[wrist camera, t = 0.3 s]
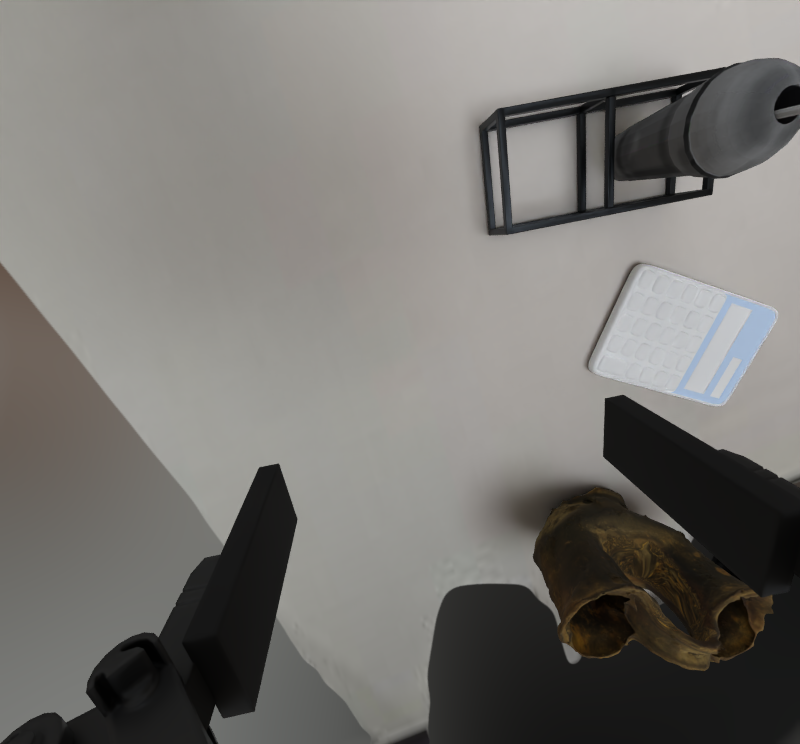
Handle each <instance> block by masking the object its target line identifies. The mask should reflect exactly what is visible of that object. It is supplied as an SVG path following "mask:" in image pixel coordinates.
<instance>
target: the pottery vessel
mask: <svg viewBox="0 0 800 744" xmlns="http://www.w3.org/2000/svg"><path fill="white" fill-rule="evenodd" d="M533 559H534V562H535V563H536V565H537V566H538V567H539V569H540V571H541V572H542V574H543V577H544V580H545V583H546V586H547V588H548V589H549V595H550V597H551V600H552V601H553V603H554V604H555V607H556V608H557V610H558V613H559V616H560V619H561V623H559V625H558V636H559V639H560V641H561V642H562V643H566V644H568V645H570V646H571V647H572V648H573V649H574V650H575V651H576V652H578V653H579V654H580V655H582V656H584V657H587V658H608V657H610V656H613V655H615V654H618V653H619V652H620V650H621V649H622V648H623V647H624V646H625V645H628V644H627V643H628V642H629V641H631V640H637V641H638V642H640V643H641V644H643V645H644V646H645V647H646V648H647V649H649V650H650V651H651V652H653V653H654V654H657V655H658V656H660V657H662V658H663V659H664V660H666V661H668V662H672V663H674V664H676V665H680V666H681V667H683V668H686V669H690V670H702V671H704V670H706V669H708V667H709V664H710V661H711V662H715V663H719V660H720V659H721V660H729V659H731V658H733V657H734V656H736V655H739V654H741V653H743V652H745V651H747V650H748V649H750V648H751V647H753V646H754V640H755V637H756V635H757V633H758V632H759V631H762V630H763V627H764V623H765V622H764V616H765V614H767V613H771V614H773V610H772V609H771V606H772V604H773V601H772V595H771V596H767V597H762V598H761V597H760V596H759V595H758V594H756V593H755V592H754V591H753V590H752V589H751V588H750V587H749V586H747V585H746V584H745V583H743V582H742V581H740V580H738V579H736V578H735V577H733V576H732V575H730V574H729V573H727V572H726V571H724V570H723V569H722V568H720V567H719V566H718V565H716V564H715V563H714V562H712V561H711V560H710V559H708V558H706V556H704V555H703V554H702V553H701V552H700V551H698V550H697V549H696V548H694V547H693V545H692V544H691V543H690V541H689V540H688V539H686V538H685V535H684V534H683V533H681V531H680V532H679V531H676V530H675V529H673V528H671V527H668V526H666V525H664V524H662V523H659V522H657V521H654V520H652V519H649V518H648V517H647V516H646V515H645V516H642V515H639V514H636V513H634V512H632V511H629V510H628V509H627V507H626V505H625V503H624V500H623V498H622V496H621V495H619V494H618V493H616V492H614V491H612V490H611V491H610V490H609V489H604V488H600V487H598V488H596V487H595V488H594V489H593V490H592V491H590V492H588V493H587V494H584V495H582V496H576V497H573V498H572V499H571V500H567V501H563V502H562V503H561V506H559V507H558V508H557V509H556V508H555V509H552V511H551V513H550V516H549V517H548V518H547V521H546V523H545V526H544V527H543V529H542V531H541V532H540V533H539V536H538V538H537V540H536V543H535V549H534V554H533ZM644 589H648V590H650V591H652V592H653V593H654V594H655V595H657V596H658V597H659V598H660V599H661V600H662V601H663V602H664V603H665V604H666V605H667V606H668V607H669V608H670V609H671V610H672V611H673V612H674V613H675V614H676V616H677V617H678V618H679V619H680V621H681V622H682V623H683V625H684V626H685V628H686V629H687V631H688V633H689V634H690V635H687V634H685V633H684V632H682V631H680V630H679V629H677V628H676V627H675V626H674V624H672V622H671V621H670V620H669V619H668V618H667V617H666V616H665V615H664V614H663V613H662V611H661V609H660V607H659V604H658V602H657V601H656V600H655V599H654V598H653V597H651V596H650V595H649V594H648V593H647V592H646V591H645V590H644Z"/></svg>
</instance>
